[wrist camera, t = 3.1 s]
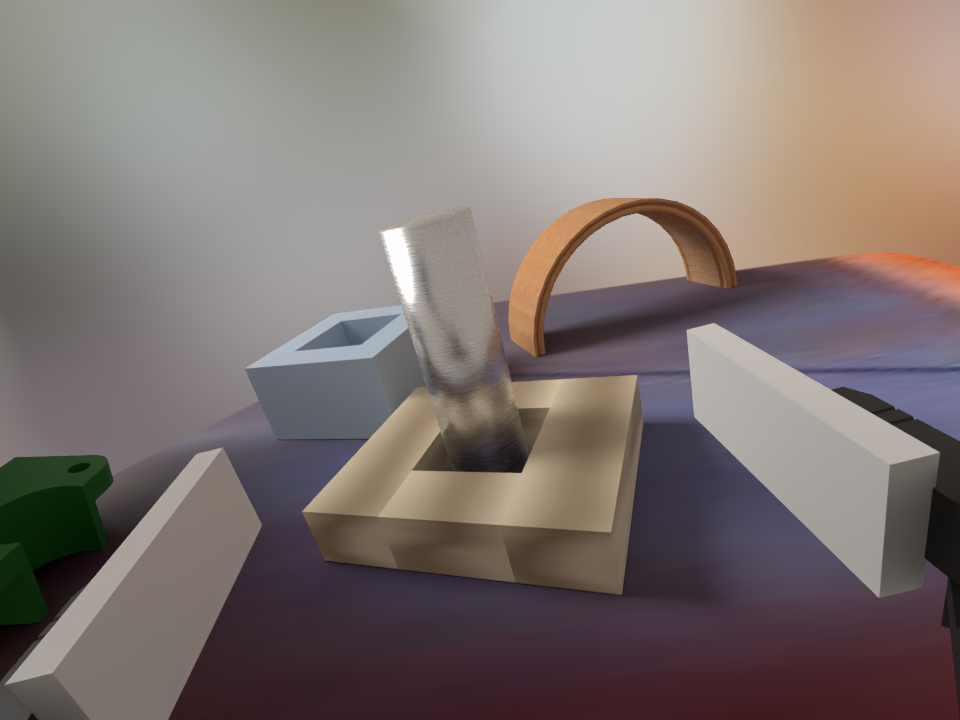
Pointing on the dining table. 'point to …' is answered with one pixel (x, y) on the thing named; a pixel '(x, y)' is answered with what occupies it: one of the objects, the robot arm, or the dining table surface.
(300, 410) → the slate holder block
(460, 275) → the steel axle
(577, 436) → the birch block
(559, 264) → the arch
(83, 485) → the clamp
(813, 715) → the dining table surface
